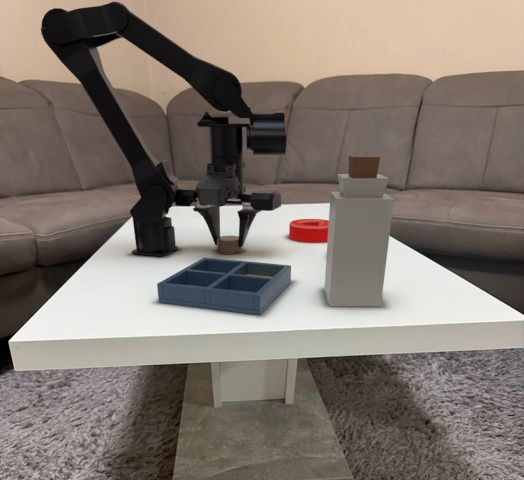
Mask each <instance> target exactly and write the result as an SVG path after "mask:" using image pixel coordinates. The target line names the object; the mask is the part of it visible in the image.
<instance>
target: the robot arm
mask: <svg viewBox="0 0 524 480" xmlns="http://www.w3.org/2000/svg"><path fill="white" fill-rule="evenodd" d="M40 27H41V28H40V33H41V36H42V38H43V41H44V42H45V44H46V45H47V46H48V47H49V49H50V50H51V51H52V53H53V54H54V55H55V56H56V57H57V59H58V60H59V61H60V62H61V64H63V65H64V67H65V68H66V69H67V70H68V71H70V73H71V74H72V75H73V76H74V78H75V79H76V80H78V82H79V83H80V84H81V86H82V87H83V90H84V91H85V92H86V94H87V96H88V98H89V100H90V101H91V102H92V104H93V106H94V107H95V109H96V111H97V112H98V114H99V116H100V117H101V119H102V121H103V123H104V124H105V126H106V127H107V129H108V131H109V132H110V135H111V136H112V137H113V139H114V141H115V142H116V144H117V146H118V147H119V149H120V151H121V152H122V154H123V156H124V157H125V159H126V161H127V162H128V164H129V167H130V169H131V172H132V177H133V180H134V183H135V184H134V185H135V187H136V189H137V191H138V193H139V197H140V198H139V199H138V200H137V202H136V203H134V205H133V206H132V208H131V209H129V214H130V215H131V218H132V223H133V224H132V225H133V232H134V240H135V249H133V250H132V251H131V254H132V255H141V256H153V257H164V256H166V255H168V254H170V253H173V252H174V251H177V250H178V249H179V246H177V244H176V234H175V227H174V226H173V223H172V221H173V220H172V217H171V216H170V217H168V216H167V215H168V214H169V212H170V209H171V208H172V207H173V206H174V205H175V206H177V207H192V205H193V204H194V207H193V208H192V210H193V211H194V212H197V213H198V214H199V215H200V216H201V217H202V218H203V220H204V222H205V223H206V226H207V229H208V231H209V233H210V235H211V238H212V241H213V242H214V245H215V246H217V238H218V237H220V236H221V211H220V209H221V207H224V206H225V205H226V204H227V205H229V204H231V205H241V207H242V209H239V210H237V215H238V219H239V221H238V222H239V224H238V236H239V247H241V248H243V247H244V244H245V242H246V240H247V237H248V235H249V231H250V229H251V226H252V224H253V222H254V220H255V217H256V216H257V215H258V213H260V212H262V211H264V212H265V211H266V212H270V211H271V212H272V211H274V210H277V209H278V208H281V207H282V195H281V193H280V191H279V190H276V189H275V190H274V189H258V190H255V191H252V192H251V193H246V189H247V188H246V185H244V169H246V162H245V161H244V153H243V151H244V149H243V147H244V146H243V145H244V144H243V142H244V141H243V128H245V129H246V131H245V133H246V136H245V139H246V151H252V157H285V156H286V151H287V133H286V121H285V119H286V118H285V117H286V116H285V115H286V114H285V112H273V113H253V112H252V110H251V109H252V108H251V106H248V105H247V103H246V101H245V100H244V98H243V97H242V96H243V95H242V94H243V89H242V85H241V83H240V80H239V78H238V77H237V76H236V75H235V74H234V73H232V72H231V71H229V70H226V69H225V68H222V67H220V66H218V65H215V64H213V63H211V62H209V61H206V60H204V59H201V58H199V57H196V56H195V55H193V54H191V53H190V52H188V51H187V50H185V49H184V48H183V47H181V46H180V45H178V44H177V43H176V42H175V41H173V40H171V39H170V38H169V37H167V36H166V35H164V34H163V33H161V32H160V31H159V30H157V29H156V28H154V27H153V26H152V25H150V24H149V23H147V22H146V21H144V19H141V18H140V17H139V16H137V15H136V14H134V13H133V12H131V11H130V9H129V8H127V6H126V5H125V4H123V3H121V2H120V1H111V2H108V3H105V4H101V5H98V6H97V5H96V6H89V7H88V6H87V7H79V8H76V9H75V8H74V9H71V10H66V9H63V8H61V7H54V8H52V9H49V10H47V12H46V13H45V14H44V15H43V17H42V19H41V26H40ZM120 39H124V40H126V41H128V42H129V43H130V44H131V45H133V46H134V47H136V48H137V49H139V50H141V51H142V52H144V53H145V54H147V55H148V56H150V57H151V58H152V59H154V60H155V61H157V62H158V63H160V64H161V65H163V66H164V67H166V68H167V69H169V70H170V71H171V72H173V73H174V74H176V75H177V76H178V77H179V78H182V79H183V80H184V81H185V82H186V83H187V84H188V85H189V86H191V87H192V89H194V91H196V92H197V93H198V94H199V95H200V96H201V97H202V98H203V99H204V100H205V101H206V102H207V103H208V104H209V105H210V106H211V107H212V108H213V109H215V110H216V111H218V112H220V113H223V114H228V113H231V114H233V115H234V116H235V117H237V118H238V119H240V120H249V123H230V117H229V116H226V115H225V116H223V115H222V116H221V115H220V116H217V115H215V116H214V115H213V116H212V115H211V114H210V113H209V111H204V112H203V113H204V114H203V115H202V118H200V119H199V120H198V122H197V123H196V126H197V127H199V128H208V143H209V144H208V145H209V146H208V147H209V162H207V163H206V174H205V176H203V177H201V179H200V180H199V181H198V182H197V184H196V185H195V186H185V187H182V188H179V186H178V182H179V181H180V179H179V178H178V177H177V176H175V174H174V173H173V171H172V168H171V165H170V163H169V160H168V159H164V160H162V161H158V160H157V158H156V157H155V156H154V155H153V154H152V152H151V151H150V149H149V147H148V146H147V144H146V142H145V141H144V139H143V137H142V135H141V133H140V131H139V129H137V127H136V125H135V123H134V122H133V119H132V118H131V116H130V115H129V112H128V111H127V110H126V109H127V108H126V107H125V106H124V104H123V102H122V100H121V99H120V97H119V95H118V94H117V92H116V90H115V88H114V86H113V85H112V83H111V81H110V79H109V78H108V76H107V74H106V72H105V70H104V67H103V62H102V59H101V56H100V51H99V50H98V48H100V47H104V46H106V45H108V44H110V43H112V42H114V41H117V40H120Z"/></svg>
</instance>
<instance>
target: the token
mask: <svg viewBox="0 0 524 480" xmlns="http://www.w3.org/2000/svg"><path fill="white" fill-rule="evenodd" d="M242 250H243V249H242V247H239V235H220V237H218V238H217V245H216V252H217V253H218V254H221V255H237V254H240V253H242Z"/></svg>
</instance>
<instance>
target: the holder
mask: <svg viewBox="0 0 524 480" xmlns="http://www.w3.org/2000/svg"><path fill="white" fill-rule="evenodd" d="M291 282H292V265H290V264H280V263H270V262H269V263H268V262H257V261H246V260H236V259H226V258H225V259H223V258H214V257H213V258H212V257H202V258H200V259H198V260H196V261H195V262H193V263H191V264H189V265H188V266H186V267H184V268H182V269H181V270H179V271H177V272H176V273H173V274H172V275H170V276H169V277H167V278H165V279H163V280H161V281H160V282H157V283H156V289H157V297H158V303H160V304H161V303H162V304H171V305H178V306H187V307H194V308H200V309H201V308H202V309H211V310H217V311H225V312H226V311H227V312H234V313H240V314H241V313H242V314H249V315H259V316H260V315H262V313H264V311H265V310H266V309H268V307H269V306H270V305H271V304H272V303H273V302H274V301H275V299H277V297H278V296H279V295H280V294H281V293H282V292H283V291H284V290H285V289H286V288H287V286H288V285H290V284H291Z"/></svg>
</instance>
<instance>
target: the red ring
mask: <svg viewBox="0 0 524 480" xmlns="http://www.w3.org/2000/svg"><path fill="white" fill-rule="evenodd" d="M328 226H329V219H322V218H301V219H294V220H292V221H290V222H289V229H288V238H289V239H290V240H292V241H295V242H302V243H326V242H328Z"/></svg>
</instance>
